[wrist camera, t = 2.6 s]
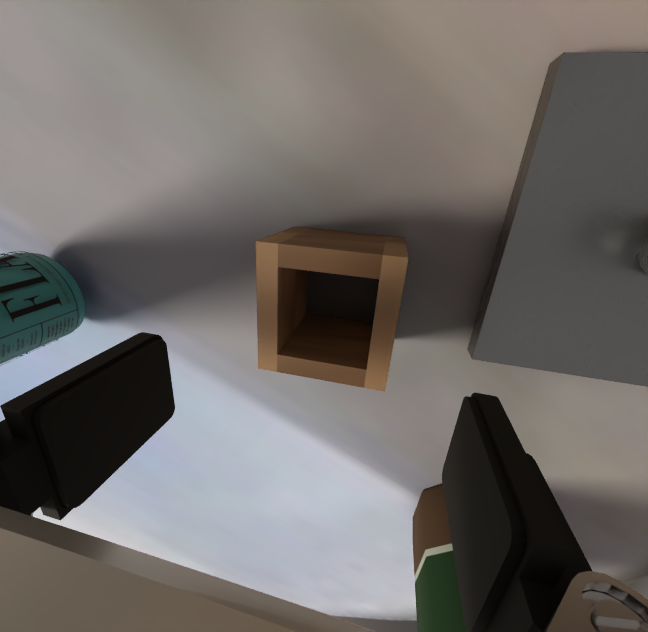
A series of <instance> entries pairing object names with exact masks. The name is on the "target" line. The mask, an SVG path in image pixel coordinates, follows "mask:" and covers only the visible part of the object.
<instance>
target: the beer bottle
mask: <svg viewBox="0 0 648 632" xmlns="http://www.w3.org/2000/svg"><path fill="white" fill-rule="evenodd" d="M413 554H414V573H415V592H416V611H417V629H418V632H467V631H466V628H465V624H464V619H463V612H462V606H461V599H460V593H459V586H458V580H457V573H456V567H455V560H454V554H453V547H452V541H451V534H450V528H449V521H448V515H447V508H446V502H445V495H444V489H443V484H440V485H436V486H433V487H430V488H427V489H424V490H423V492H422V494H421V497H420V499H419V502H418V505H417V508H416V510H415V513H414V516H413Z"/></svg>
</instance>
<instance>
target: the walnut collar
mask: <svg viewBox="0 0 648 632" xmlns="http://www.w3.org/2000/svg"><path fill="white" fill-rule="evenodd" d="M408 259H409V257H408V252H407V247H406V243H405V238H402V237H392V236H382V235H372V234H362V233H351V232H341V231H331V230H321V229H311V228H301V227H292V228H289V229H287V230H284V231H281V232H279V233H276V234H274V235H271V236H268V237H266V238H263V239H260V240H258V241H256V281H257V329H258V368H259V369H264V370H270V371H276V372H281V373H287V374H292V375H298V376H303V377H309V378H314V379H320V380H325V381H331V382H336V383H342V384H347V385H353V386H358V387H364V388H369V389H375V390H380V391H385V389H386V383H387V377H388V372H389V366H390V360H391V355H392V349H393V343H394V338H395V332H396V327H397V321H398V315H399V310H400V304H401V298H402V293H403V287H404V281H405V276H406V270H407V264H408ZM308 271H316V272H324V273H332V274H340V275H348V276H357V277H365V278H373V279H380V280H379V287H378V294H377V301H376V308H375V314H374V321H373V323H368V322H361V321H354V320H347V319H341V318H334V317H327V316H320V315H313V314H306V307H307V286H308Z"/></svg>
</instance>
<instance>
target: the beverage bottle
mask: <svg viewBox="0 0 648 632" xmlns="http://www.w3.org/2000/svg"><path fill="white" fill-rule="evenodd" d="M14 252H16V251H14ZM14 252H13V253H14ZM20 252H23V251H20ZM10 253H12V252H10ZM0 255H2V254H0ZM3 255H4V256H1V257H0V364H2V363H4V362H6V361H8V360H11V359H13V358H15V357H18V356H20V357H21V356H23V355H22V354H24V353H27V352H29V351H31V350H34V349H36V348H38V347H40V346H45V344H47V343H49V342H52V341H54V340H56V341H57V340H58V339H59V338H61V337H63V336H65V335H68V334H70V333H71V332H73V331H74V330H75V329H76V328H78V327H79V326H80V325H81V323H82V321H83V319H84V316H85V303H84V299H83V295H82V293H81V290H80V288H79V286H78V284H77V283H76V281H75V280H74V278H73V277H72V276H71V274H70V273H69V272H68V271H67V270H66V269H65V268H64V267H63V266H62V265H60V264H59V263H58V262H56V261H55V260H53V259H51V258H49V257H47V256H44V255H41V254H35V253H28V252H26V253H18V254H17V253H15V254H12V255H8V254H4V253H3ZM5 255H7V256H5ZM49 344H50V343H49ZM47 345H48V344H47ZM38 349H39V348H38ZM29 353H30V352H29ZM27 354H28V353H27ZM18 358H19V357H18ZM9 362H10V361H9ZM7 363H8V362H7ZM0 366H1V365H0Z"/></svg>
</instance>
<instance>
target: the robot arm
mask: <svg viewBox="0 0 648 632" xmlns="http://www.w3.org/2000/svg"><path fill="white" fill-rule="evenodd" d="M0 407H1V409H2V412H3V414H4V417H5V420H3V421H1V422H0V632H376V631H373V630H370V629H367V628H364V627H362V626H359V625H356V624H353V623H351V622H348V621H345V620H342V619H339V618H336V617H333V616H330V615H327V614H324V613H321V612H318V611H315V610H312V609H309V608H306V607H303V606H300V605H298V604H295V603H292V602H289V601H286V600H283V599H280V598H277V597H274V596H271V595H268V594H265V593H262V592H259V591H256V590H253V589H250V588H247V587H244V586H241V585H238V584H235V583H232V582H229V581H226V580H223V579H220V578H218V577H215V576H212V575H209V574H205V573H202V572H199V571H196V570H193V569H190V568H187V567H184V566H181V565H178V564H175V563H172V562H169V561H166V560H163V559H160V558H157V557H154V556H151V555H148V554H145V553H142V552H139V551H136V550H133V549H130V548H127V547H124V546H121V545H118V544H115V543H112V542H109V541H106V540H103V539H100V538H97V537H94V536H91V535H88V534H84V533H81V532H78V531H75V530H72V529H69V528H66V527H63V526H60V525H57V524H54V523H50V522H47V521H44V520H41V519H38V518H35V517H33V512H34V511H35V510H37V509H38V508H39V507H41V510H42V512H43V515H46V516H49V517H52V518H55V519H58V520H61V519H62V518H63V517H65V516H66V515H67V514H68V513H69V512H70V511H71V510H72V509H73V508H76V507H78V506H80V505H81V504H82V503H83V502H84V501H85V500H86V499H87V498H88V497H89V496H91V495H92V494H93V493H94V492H95V491H96V490H97V489H98V488H99V487H100V486H101V485H102V484H103V483H104V482H105V481H106V480H107V479H108V478H109V477H110V476H111V475H112V474H113V473H114V472H115V471H116V470H117V469H118V468H119V467H120V466H122V465H123V464H124V463H125V462H126V461H127V460H128V459H129V458H130V457H131V456H132V455H133V454H134V453H135V452H136V451H137V450H138V449H139V448H140V447H141V446H142V445H143V444H144V443H145V442H146V441H147V440H148V439H149V438H150V437H152V436H153V435H154V434H155V433H156V432H157V431H158V430H159V429H160V428H161V427H162V426H163V425H164V424H165V423H166V422H167V421H168V420H169V419H170V418H171V417H172V415H173V413H174V410H175V404H174V396H173V389H172V382H171V374H170V367H169V360H168V352H167V345H166V343H165V341H163V339H162V337H161V336H159V335H155V334H150V333H143V332H141V333H139V334H137V335H135V336H133V337H131V338H129V339H127V340H125V341H123V342H121V343H119V344H117V345H116V346H114V347H112V348H110V349H108V350H106V351H104V352H102V353H100V354H98V355H96V356H95V357H93V358H91V359H89V360H87V361H85V362H83V363H81V364H79V365H77V366H75V367H73V368H72V369H70V370H68V371H66V372H64V373H62V374H60V375H58V376H56V377H54V378H52V379H51V380H49V381H47V382H45V383H43V384H41V385H39V386H37V387H35V388H33V389H31V390H29V391H28V392H26V393H24V394H22V395H20V396H18V397H16V398H14V399H12V400H10V401H8V402H7V403H5V404H3V405H1V406H0ZM442 482H443V489H444V495H445V502H446V508H447V515H448V521H449V528H450V534H451V541H452V547H453V554H454V560H455V567H456V573H457V580H458V586H459V593H460V599H461V606H462V612H463V619H464V624H465V628H466V631H467V632H648V600H647V599H646V598H645V597H644V596H643V595H641V594H640V593H639V592H637V591H636V590H634V589H633V588H631V587H630V586H628V585H626V584H625V583H623V582H622V581H620V580H618V579H615V578H613V577H611V576H608V575H606V574H603V573H598V572H593V571H592V569H591V567H590V565H589V563H588V562H587V560H586V558H585V556H584V554H583V552H582V550H581V548H580V546H579V544H578V542H577V540H576V538H575V537H574V535H573V533H572V531H571V529H570V527H569V525H568V523H567V521H566V519H565V517H564V515H563V513H562V511H561V510H560V508H559V506H558V504H557V502H556V500H555V498H554V496H553V494H552V492H551V490H550V488H549V486H548V484H547V483H546V481H545V479H544V477H543V475H542V473H541V471H540V469H539V467H538V465H537V463H536V461H535V460H534V459H533V457H532V456H531V455H529V454H527V453H525V451H524V449H523V447H522V445H521V443H520V441H519V439H518V437H517V435H516V433H515V431H514V429H513V427H512V425H511V423H510V421H509V419H508V417H507V415H506V413H505V411H504V409H503V407H502V405H501V402H500V400H499V399H498V397H496V396H491V395H485V394H480V393H473V394H472V395H471V397H467V396H466V397H464V399H463V402H462V406H461V409H460V412H459V416H458V419H457V423H456V426H455V429H454V433H453V436H452V440H451V443H450V446H449V450H448V453H447V457H446V460H445V463H444V467H443V472H442Z"/></svg>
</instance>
